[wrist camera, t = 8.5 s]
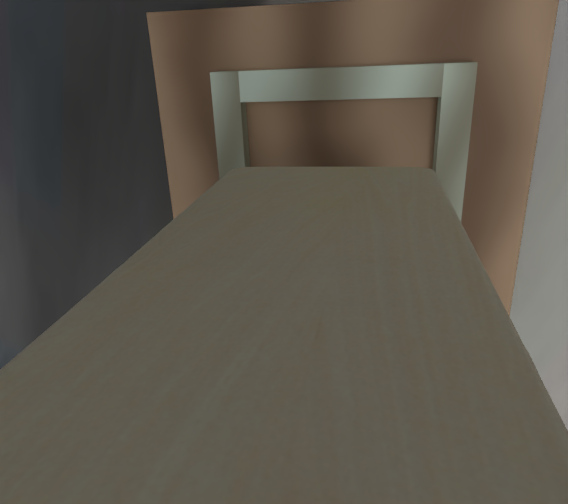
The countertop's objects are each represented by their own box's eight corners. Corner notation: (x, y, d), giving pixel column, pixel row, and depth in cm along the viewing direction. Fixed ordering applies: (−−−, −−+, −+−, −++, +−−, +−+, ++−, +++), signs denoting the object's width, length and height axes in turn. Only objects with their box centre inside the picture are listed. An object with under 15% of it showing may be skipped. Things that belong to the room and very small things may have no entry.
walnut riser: (527, -1, 26) (571, -16, 21) (484, 317, 34) (507, 370, 28) (180, 18, 30) (136, 10, 24) (211, 305, 37) (183, 351, 31)
